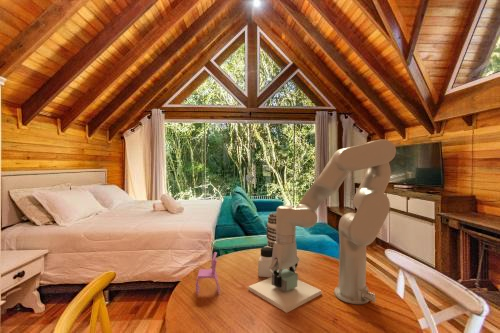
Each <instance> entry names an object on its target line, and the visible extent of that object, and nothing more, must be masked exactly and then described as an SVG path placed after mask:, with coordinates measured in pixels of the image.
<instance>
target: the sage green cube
mask: <svg viewBox="0 0 500 333" xmlns="http://www.w3.org/2000/svg"><path fill="white" fill-rule="evenodd" d="M288 269H289V268H286V269H283V270H282V273H281V276H280V277H281V287H280V288H279V287H277V286H275V285H274V275H273V273H272V285H273V286H275V287H277V288H279V289H281V290H283V291H285V292H286V291H288V290H290V289H293V288H295V287H297V280H299V278H298V273H297V272H296V271H295V272H292V271H290V270H288ZM277 272H279V269H278V270H277Z"/></svg>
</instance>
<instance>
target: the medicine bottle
mask: <svg viewBox="0 0 500 333" xmlns="http://www.w3.org/2000/svg"><path fill="white" fill-rule="evenodd" d="M272 253H273V248H272V247H268V246H267V245H266V246H263V247H261V248H260V257H259V258H258V262H257V264H258V266H257V267H258V269H257V276H258V277H259V278H261V277H262V278H267V279H268V278H271V277H272V272H271V271H270V269H269V267H270V266H271V264H272Z"/></svg>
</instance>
